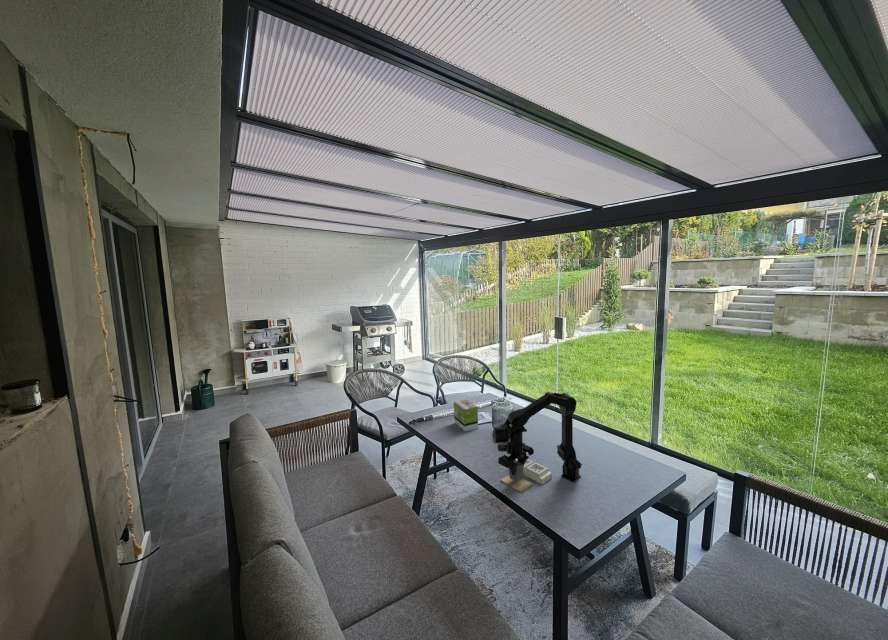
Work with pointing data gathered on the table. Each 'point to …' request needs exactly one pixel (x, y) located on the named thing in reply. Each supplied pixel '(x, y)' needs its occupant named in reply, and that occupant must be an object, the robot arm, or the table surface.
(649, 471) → the table surface
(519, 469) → the block
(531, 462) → the power strip
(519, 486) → the cork pad
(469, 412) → the tea box
